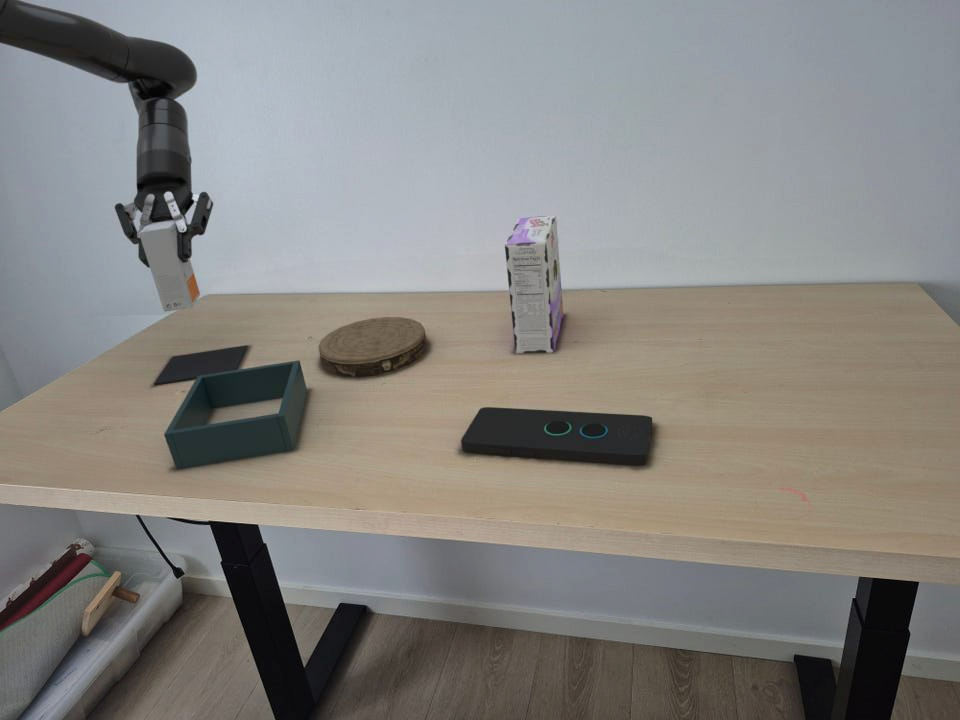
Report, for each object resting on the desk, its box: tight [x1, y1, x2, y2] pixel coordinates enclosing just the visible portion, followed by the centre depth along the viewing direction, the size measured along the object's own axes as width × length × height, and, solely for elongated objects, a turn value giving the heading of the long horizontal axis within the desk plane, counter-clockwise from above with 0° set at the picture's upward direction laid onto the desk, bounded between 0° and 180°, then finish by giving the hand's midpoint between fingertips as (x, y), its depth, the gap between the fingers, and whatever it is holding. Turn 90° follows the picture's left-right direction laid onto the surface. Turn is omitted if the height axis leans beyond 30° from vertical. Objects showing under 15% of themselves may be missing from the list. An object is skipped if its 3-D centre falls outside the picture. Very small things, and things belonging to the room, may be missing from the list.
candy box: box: [504, 215, 564, 354], centre depth 101 cm, size 14×6×16 cm, turn 168°
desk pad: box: [153, 345, 248, 386], centre depth 109 cm, size 12×10×1 cm
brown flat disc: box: [317, 316, 428, 379], centre depth 104 cm, size 16×16×3 cm
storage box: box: [163, 359, 308, 470], centre depth 87 cm, size 14×16×5 cm
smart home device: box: [460, 406, 653, 467], centre depth 77 cm, size 8×2×20 cm
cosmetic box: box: [139, 220, 201, 313], centre depth 102 cm, size 6×4×12 cm
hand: (165, 261), depth 100 cm, fingers closed on cosmetic box, 4 cm apart
